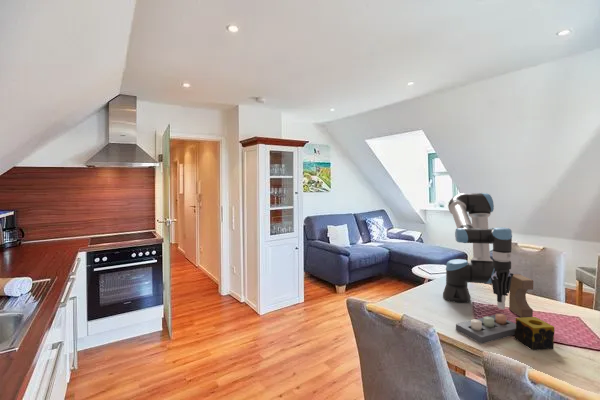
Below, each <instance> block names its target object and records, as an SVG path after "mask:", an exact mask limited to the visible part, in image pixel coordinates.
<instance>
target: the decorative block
mask: <svg viewBox="0 0 600 400" xmlns="http://www.w3.org/2000/svg"><path fill="white" fill-rule="evenodd" d="M529 290H530V291H533V290H534V279H531V278H529V277H527V276H524V275H522V274H520V273H516V274H514V273H513V277H512V280H511V285H510V291H509V293H508V296H509V298H508V299H509V300H508V301H509V303H508V305H509V307H508V310H509V311H511V312H512V313H514V314H515V315H517V316H518V317H519V318H524V317H534V316H533V314H534V313H533V312H534V310H533V308H531V307H530V305H529V303H528V300H527V298H526V293H527V292H528V291H529Z"/></svg>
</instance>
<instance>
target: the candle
mask: <svg viewBox="0 0 600 400" xmlns="http://www.w3.org/2000/svg"><path fill="white" fill-rule="evenodd" d="M515 324H516V329H515V335H514V337H513V339H515V340H516V341H517V342H519V344H522V345H523V346H525V347H527V348H528V349H530V350H531V351H539V350H540V351H542V350H553V349H554V347H555V343H554V337H555V326H554V325H552V324H550V323H548V322H547V321H544V320H542V319H540V318H539V317H536V316H533V317H524V318H521V317H515Z"/></svg>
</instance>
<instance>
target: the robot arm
mask: <svg viewBox="0 0 600 400" xmlns="http://www.w3.org/2000/svg"><path fill="white" fill-rule="evenodd" d="M494 209H495V205H494V200H493V197H492V195H491V194H490V193H487V192H486V193H485V192H484V193H483V192H475V193H474V192H470V193H467V192H466V193H465V192H464V193H459V194H456V195H454V196H452V198H451V199H450V200H449V202H448V211H449V213H450V214H451V215H452V217H453V220H454V222H455V225H456V229H455V230H454V237H455V242H457V243H462V244H472V256H473V257H471V259H470V262H469V261H468V260H467V259H462V258H457V259H456V258H455V259H450V260H448V261H447V262H446V265H445V270H446V271H445V287H444V290H443V291H442V298H443V299H444V300H447V301H448V302H452V303H458V304H464V303H465V304H467V303H469V302H471V294H470V291H469V287H468V283H473V284H484V285H486V284H487V285H488V284H490V285H491V286H492V290H493V291H492V292H493V294H494V295H496V301H497V308H498V309H501V310H505V309H506V296H509V294H510V285H511V280H512V277H513V274H514V273H512V272H510V270H512V250H513V249H512V244H513V243H512V241H513V240H512V238H513V231H512V229H511V228H510V227H503V226H502V227H500V226H497V227H490V228H489V219H488V218H490V216H491V213H493V212H494ZM470 218H471V219H470ZM490 244H491V245H492V258H491V255H490V253H491V252H490Z"/></svg>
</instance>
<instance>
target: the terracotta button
mask: <svg viewBox="0 0 600 400" xmlns="http://www.w3.org/2000/svg"><path fill="white" fill-rule="evenodd" d="M495 315H496V323H497V324H500V325H502V326H503V325H506V320H507V315H506V314H502V313H495Z"/></svg>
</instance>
